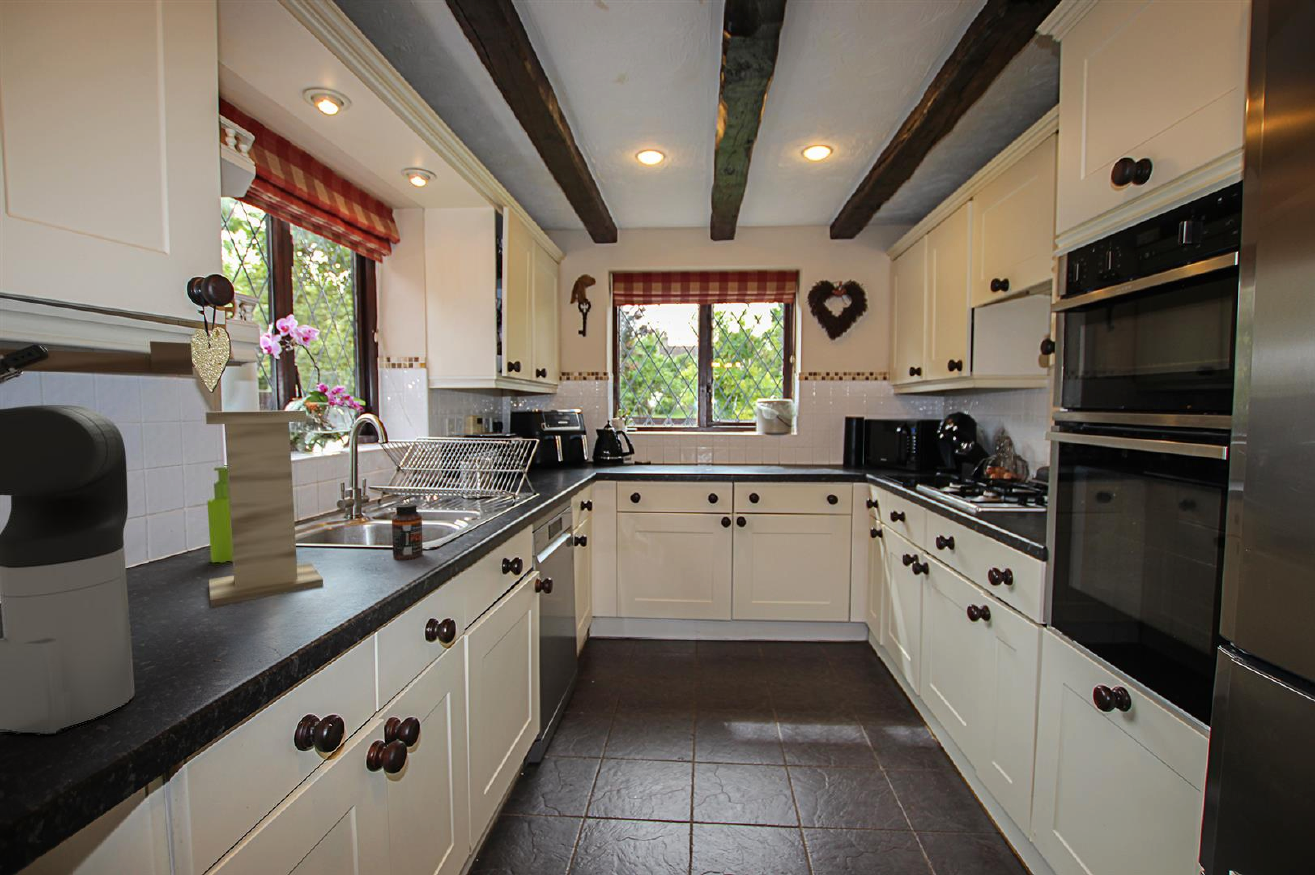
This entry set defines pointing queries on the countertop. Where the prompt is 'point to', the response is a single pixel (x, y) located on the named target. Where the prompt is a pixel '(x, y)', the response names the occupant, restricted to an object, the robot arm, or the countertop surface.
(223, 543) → the soap dispenser
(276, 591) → the oak stand
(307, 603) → the countertop surface
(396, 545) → the supplement bottle
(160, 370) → the walnut bar
